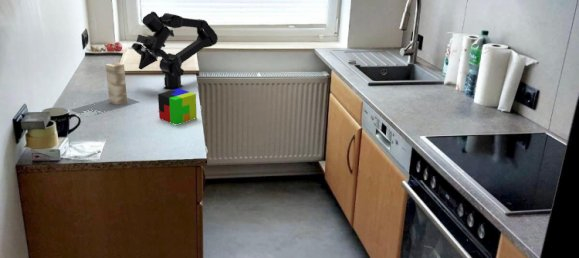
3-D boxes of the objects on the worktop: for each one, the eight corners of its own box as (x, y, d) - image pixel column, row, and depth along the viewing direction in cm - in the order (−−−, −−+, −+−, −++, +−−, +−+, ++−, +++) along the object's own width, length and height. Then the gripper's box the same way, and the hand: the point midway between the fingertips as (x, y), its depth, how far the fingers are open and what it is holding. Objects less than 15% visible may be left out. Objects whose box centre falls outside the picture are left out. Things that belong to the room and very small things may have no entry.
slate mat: (121, 96, 227) (121, 95, 227) (139, 103, 220) (139, 101, 220) (70, 110, 209) (70, 109, 209) (88, 118, 202) (87, 117, 202)
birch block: (119, 99, 222) (116, 62, 216) (127, 102, 219) (123, 64, 213) (109, 102, 218) (105, 64, 212) (116, 105, 216) (113, 66, 210)
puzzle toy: (179, 112, 212) (178, 88, 208) (196, 118, 206) (195, 94, 203) (159, 118, 205) (157, 94, 201) (176, 125, 199) (175, 100, 195)
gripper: (133, 23, 226) (113, 53, 222) (162, 30, 216) (142, 62, 212) (149, 39, 235) (130, 68, 231) (178, 46, 225) (158, 77, 220)
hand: (139, 68), depth 223 cm, fingers closed
